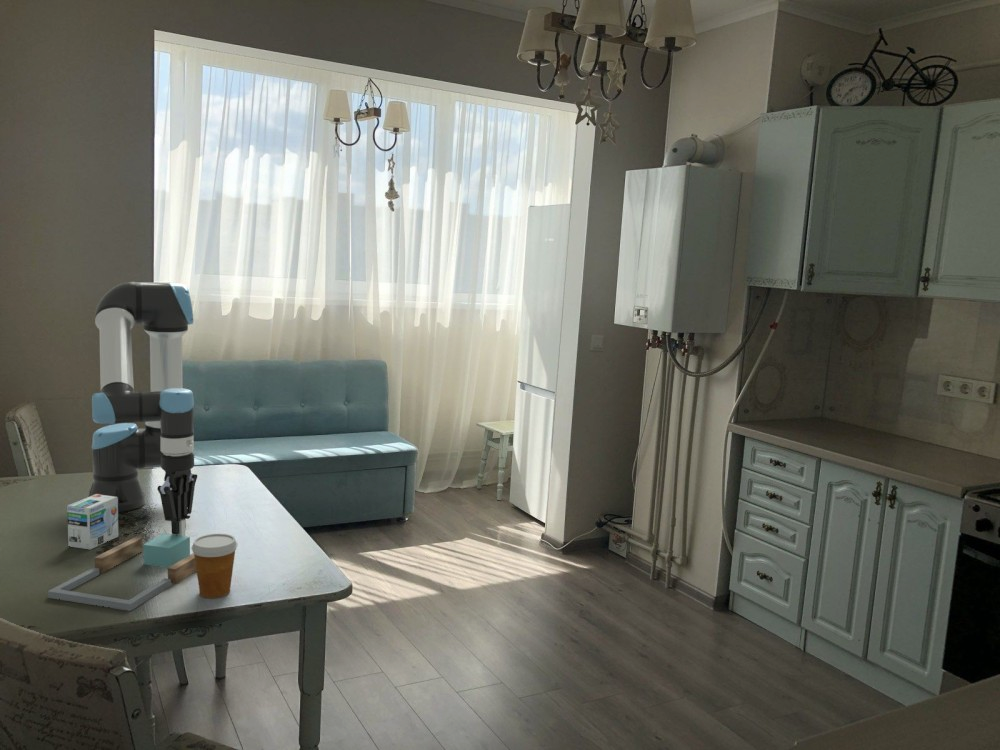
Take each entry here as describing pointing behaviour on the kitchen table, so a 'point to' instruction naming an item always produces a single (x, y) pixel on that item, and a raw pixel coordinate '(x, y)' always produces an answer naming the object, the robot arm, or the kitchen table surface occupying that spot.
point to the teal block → (166, 550)
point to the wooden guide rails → (135, 547)
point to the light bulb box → (92, 521)
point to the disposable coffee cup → (214, 563)
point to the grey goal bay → (67, 595)
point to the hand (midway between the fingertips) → (178, 544)
